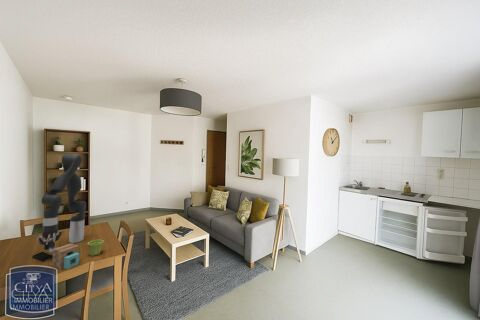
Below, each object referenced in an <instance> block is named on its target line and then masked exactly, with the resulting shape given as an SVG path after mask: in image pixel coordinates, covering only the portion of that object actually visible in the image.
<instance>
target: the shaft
mask: <svg viewBox="0 0 480 320" xmlns="http://www.w3.org/2000/svg"><path fill="white" fill-rule="evenodd" d="M55 248H58V247H57V246H53V240H51V239H49V241H48V250H45V251H47V252H50V253H53V249H55ZM68 255H70V252H69V253H67V256H68Z"/></svg>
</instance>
